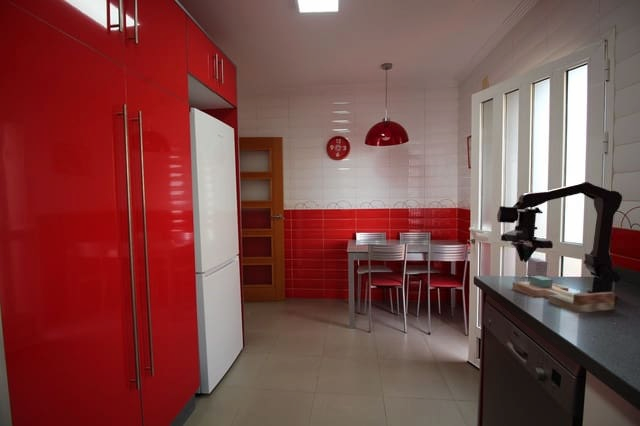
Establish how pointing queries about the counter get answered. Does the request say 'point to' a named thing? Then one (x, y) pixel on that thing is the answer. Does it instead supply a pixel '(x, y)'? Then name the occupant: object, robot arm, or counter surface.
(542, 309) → the counter surface
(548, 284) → the teal block
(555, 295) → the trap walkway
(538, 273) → the medicine box
